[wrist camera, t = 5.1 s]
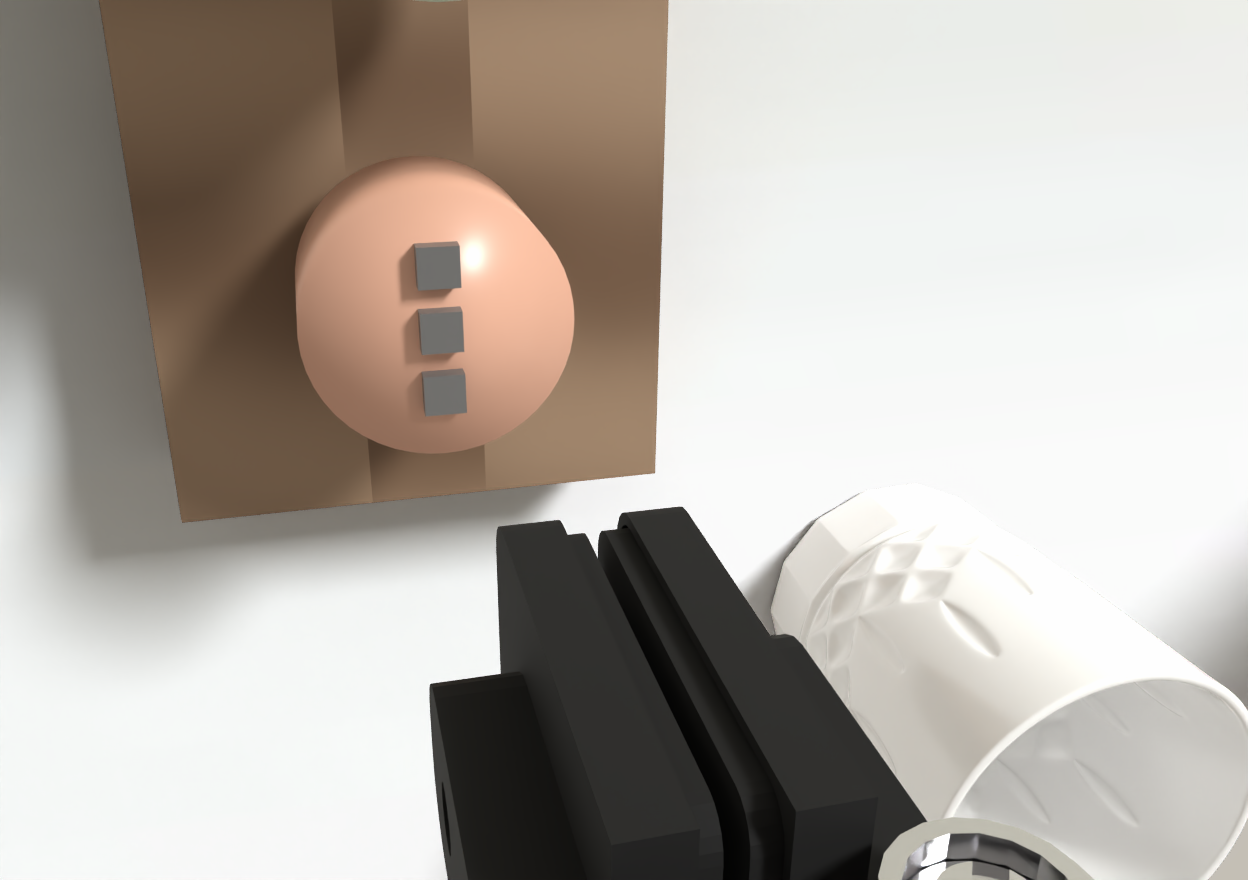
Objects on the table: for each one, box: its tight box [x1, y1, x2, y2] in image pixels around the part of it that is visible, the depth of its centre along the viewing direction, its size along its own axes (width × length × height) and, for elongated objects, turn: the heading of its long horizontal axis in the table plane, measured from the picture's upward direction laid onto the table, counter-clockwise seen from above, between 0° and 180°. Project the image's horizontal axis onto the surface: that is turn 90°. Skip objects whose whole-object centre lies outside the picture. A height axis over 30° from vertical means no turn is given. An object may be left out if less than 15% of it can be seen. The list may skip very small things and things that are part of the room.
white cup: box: [771, 483, 1248, 880], centre depth 28 cm, size 8×8×10 cm
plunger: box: [295, 156, 574, 454], centre depth 22 cm, size 5×5×7 cm
